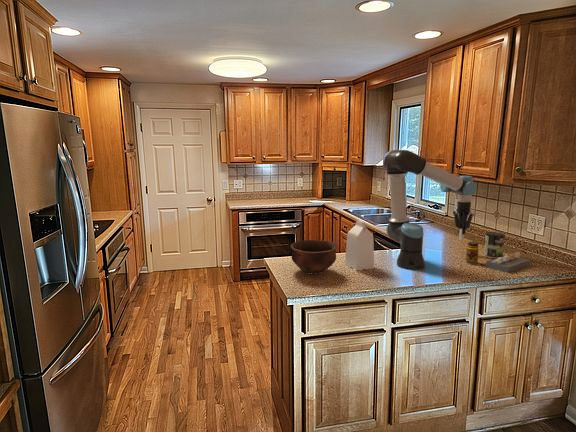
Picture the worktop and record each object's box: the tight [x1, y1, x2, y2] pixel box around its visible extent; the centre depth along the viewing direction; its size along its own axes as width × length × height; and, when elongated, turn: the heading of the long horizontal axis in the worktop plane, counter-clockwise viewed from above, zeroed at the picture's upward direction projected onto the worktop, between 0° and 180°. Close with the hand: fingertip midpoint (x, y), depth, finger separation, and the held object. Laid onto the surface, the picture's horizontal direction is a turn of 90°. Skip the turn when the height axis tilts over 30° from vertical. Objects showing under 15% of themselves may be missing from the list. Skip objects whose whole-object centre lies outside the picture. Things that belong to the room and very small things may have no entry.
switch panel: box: [484, 254, 532, 274], centre depth 208 cm, size 24×12×3 cm, turn 122°
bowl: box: [290, 239, 338, 275], centre depth 201 cm, size 25×25×15 cm
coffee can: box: [483, 231, 506, 259], centre depth 226 cm, size 10×10×14 cm
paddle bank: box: [497, 251, 521, 264], centre depth 208 cm, size 21×1×3 cm, turn 122°
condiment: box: [461, 241, 481, 266], centre depth 214 cm, size 7×8×12 cm
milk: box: [344, 219, 375, 271], centre depth 208 cm, size 12×12×26 cm
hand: (461, 238), depth 231 cm, fingers closed
